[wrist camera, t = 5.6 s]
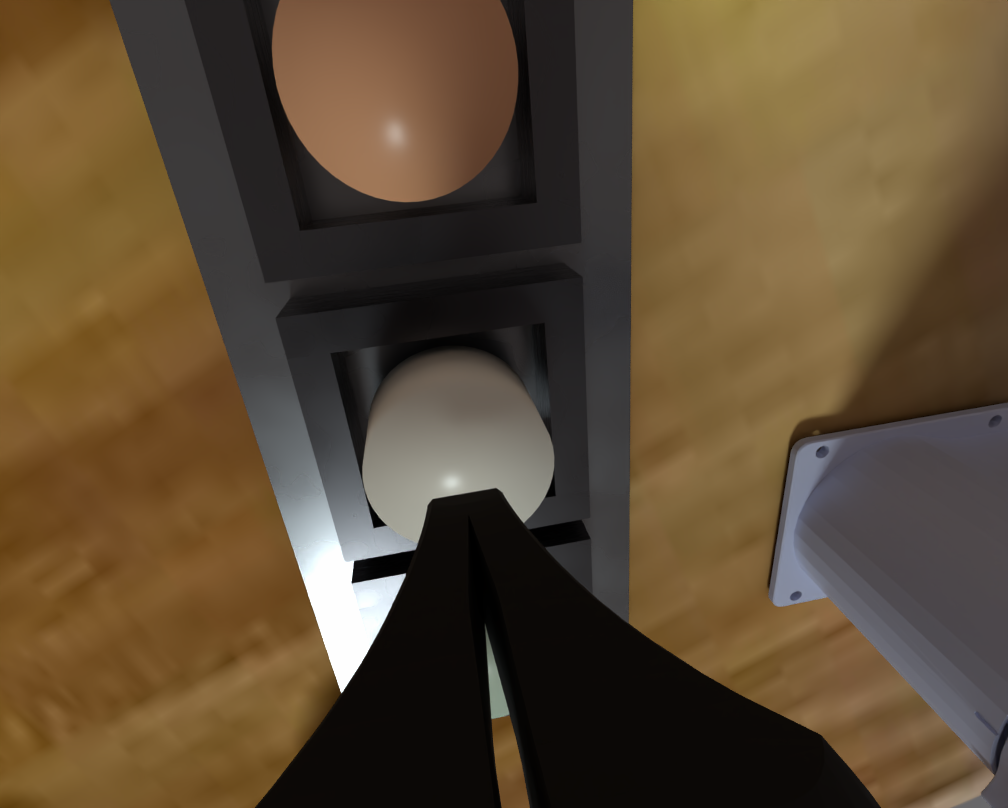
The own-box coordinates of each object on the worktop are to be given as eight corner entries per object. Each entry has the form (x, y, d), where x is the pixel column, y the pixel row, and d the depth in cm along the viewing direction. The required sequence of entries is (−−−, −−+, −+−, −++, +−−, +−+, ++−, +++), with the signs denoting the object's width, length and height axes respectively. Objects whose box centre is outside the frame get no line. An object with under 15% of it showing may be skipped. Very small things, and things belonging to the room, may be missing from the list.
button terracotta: (487, -43, 12) (507, -88, 9) (506, 181, 14) (527, 189, 11) (272, -28, 11) (239, -70, 9) (323, 202, 13) (307, 214, 11)
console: (613, -226, 12) (675, -334, 9) (617, 653, 24) (645, 718, 21) (65, -206, 11) (-48, -323, 8) (358, 708, 22) (352, 784, 20)
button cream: (525, 333, 14) (548, 369, 12) (537, 477, 16) (558, 531, 14) (352, 359, 14) (342, 400, 11) (385, 503, 16) (382, 563, 13)
